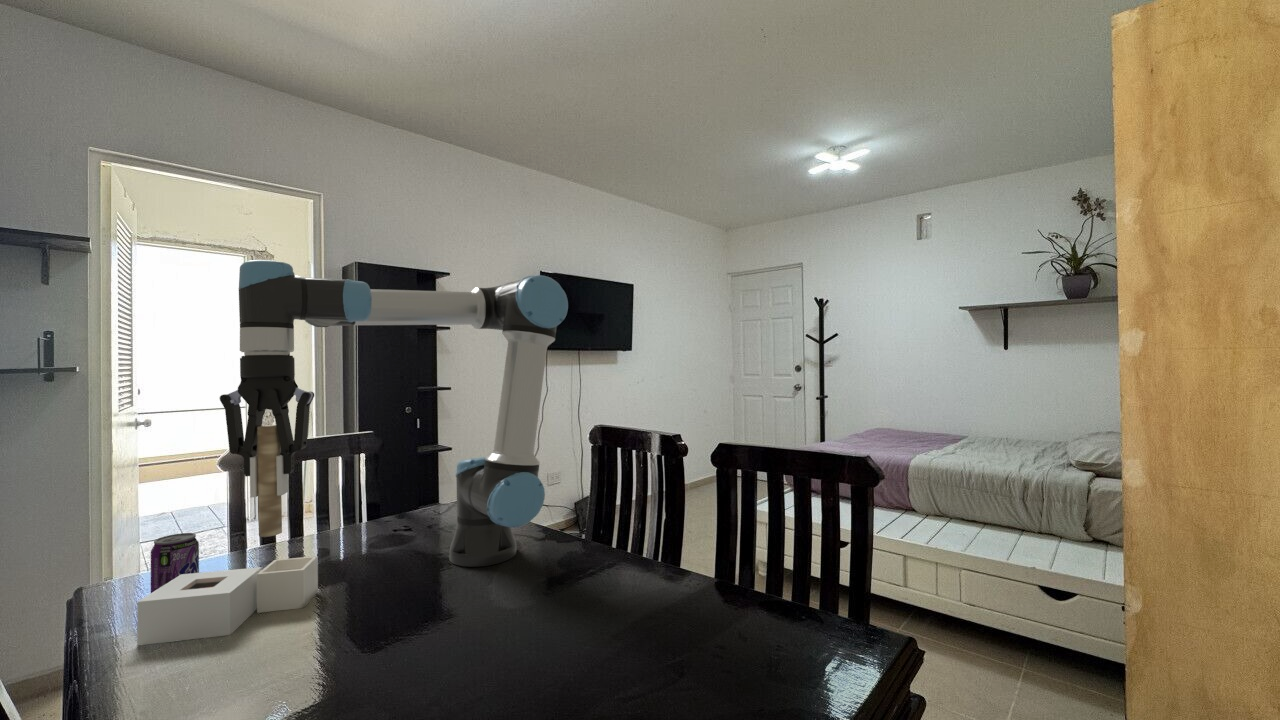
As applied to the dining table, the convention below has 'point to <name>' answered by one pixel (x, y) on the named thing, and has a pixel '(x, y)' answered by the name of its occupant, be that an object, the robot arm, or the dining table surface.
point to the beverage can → (173, 558)
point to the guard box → (197, 606)
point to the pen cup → (287, 584)
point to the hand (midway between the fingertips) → (269, 494)
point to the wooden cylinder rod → (268, 481)
